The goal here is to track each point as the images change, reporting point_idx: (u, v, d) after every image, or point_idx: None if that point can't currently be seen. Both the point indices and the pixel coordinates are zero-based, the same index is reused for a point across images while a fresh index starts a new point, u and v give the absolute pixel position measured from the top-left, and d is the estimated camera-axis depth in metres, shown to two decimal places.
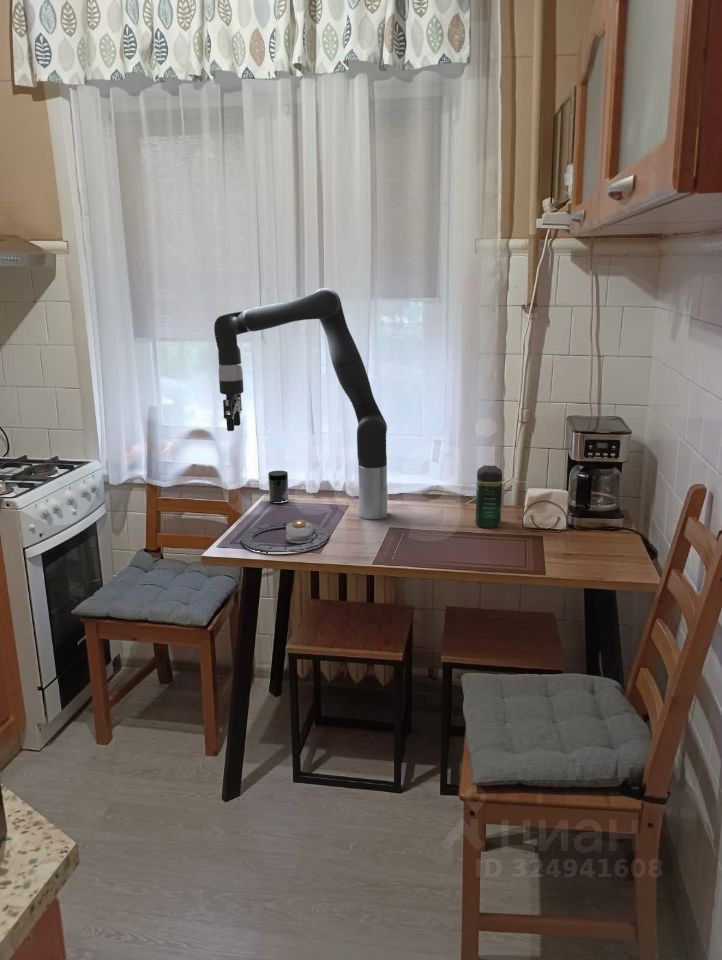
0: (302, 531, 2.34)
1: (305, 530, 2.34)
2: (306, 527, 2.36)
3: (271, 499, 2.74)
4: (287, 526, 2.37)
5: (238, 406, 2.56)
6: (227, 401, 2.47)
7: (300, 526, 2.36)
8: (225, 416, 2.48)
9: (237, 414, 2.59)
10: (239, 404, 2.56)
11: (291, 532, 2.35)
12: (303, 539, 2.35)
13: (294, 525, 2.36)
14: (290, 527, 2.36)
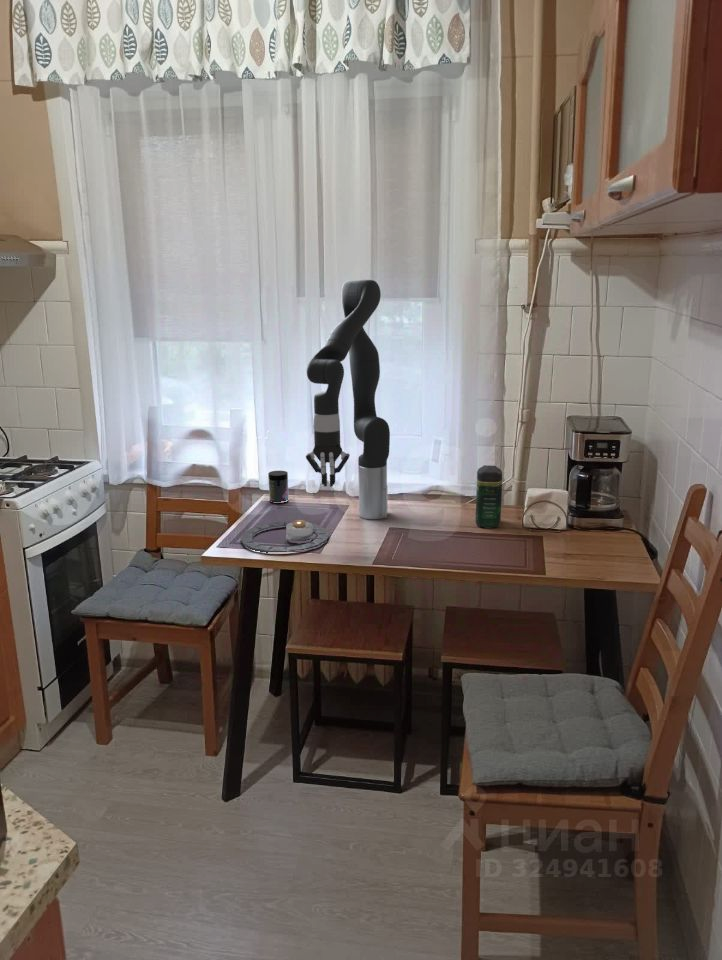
0: (302, 531, 2.34)
1: (305, 530, 2.34)
2: (306, 527, 2.36)
3: (271, 499, 2.74)
4: (287, 526, 2.37)
5: None
6: None
7: (300, 526, 2.36)
8: None
9: (326, 473, 2.33)
10: None
11: (291, 532, 2.35)
12: (303, 539, 2.35)
13: (294, 525, 2.36)
14: (290, 527, 2.36)
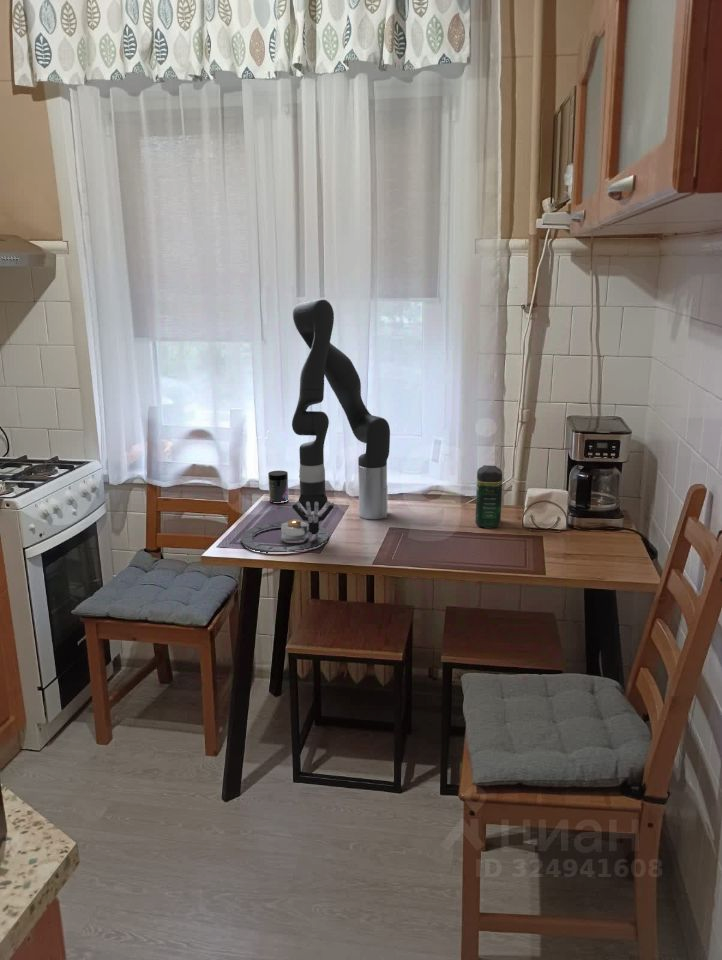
0: (297, 530, 2.34)
1: (300, 530, 2.35)
2: (301, 526, 2.36)
3: (271, 499, 2.74)
4: (282, 525, 2.37)
5: None
6: (333, 506, 2.35)
7: (295, 525, 2.36)
8: None
9: (313, 521, 2.37)
10: None
11: (286, 531, 2.35)
12: (298, 538, 2.35)
13: (289, 524, 2.36)
14: (285, 527, 2.36)
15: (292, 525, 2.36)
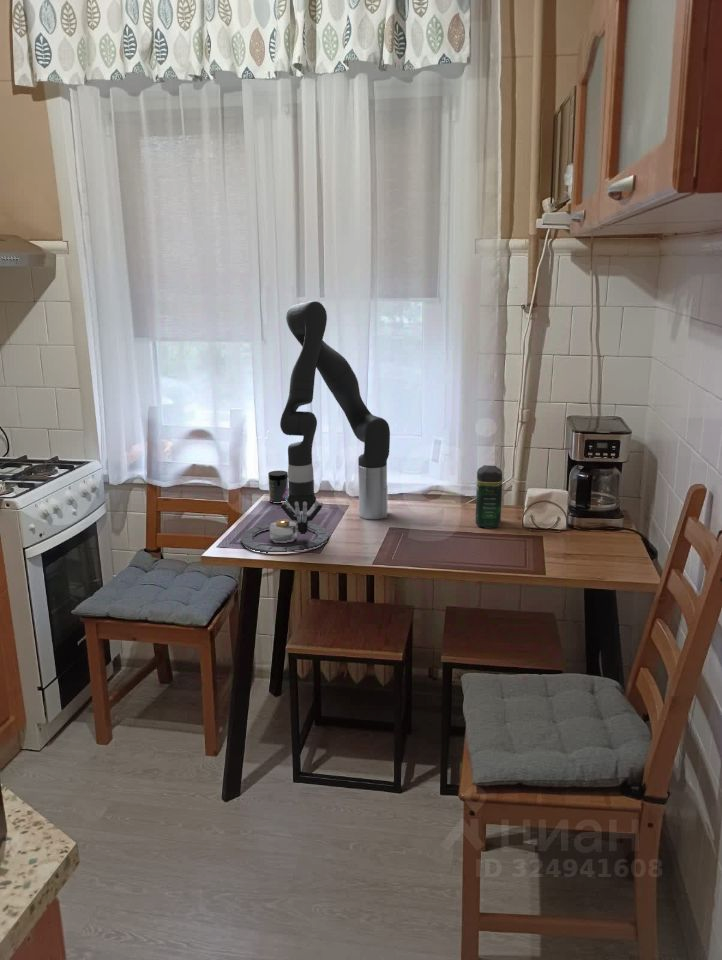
0: (285, 530, 2.35)
1: (289, 529, 2.35)
2: (290, 526, 2.37)
3: (271, 499, 2.74)
4: (271, 525, 2.38)
5: None
6: None
7: (284, 525, 2.36)
8: (312, 517, 2.36)
9: (302, 521, 2.38)
10: None
11: (274, 531, 2.35)
12: (287, 538, 2.35)
13: (277, 524, 2.37)
14: (274, 527, 2.36)
15: (281, 525, 2.36)
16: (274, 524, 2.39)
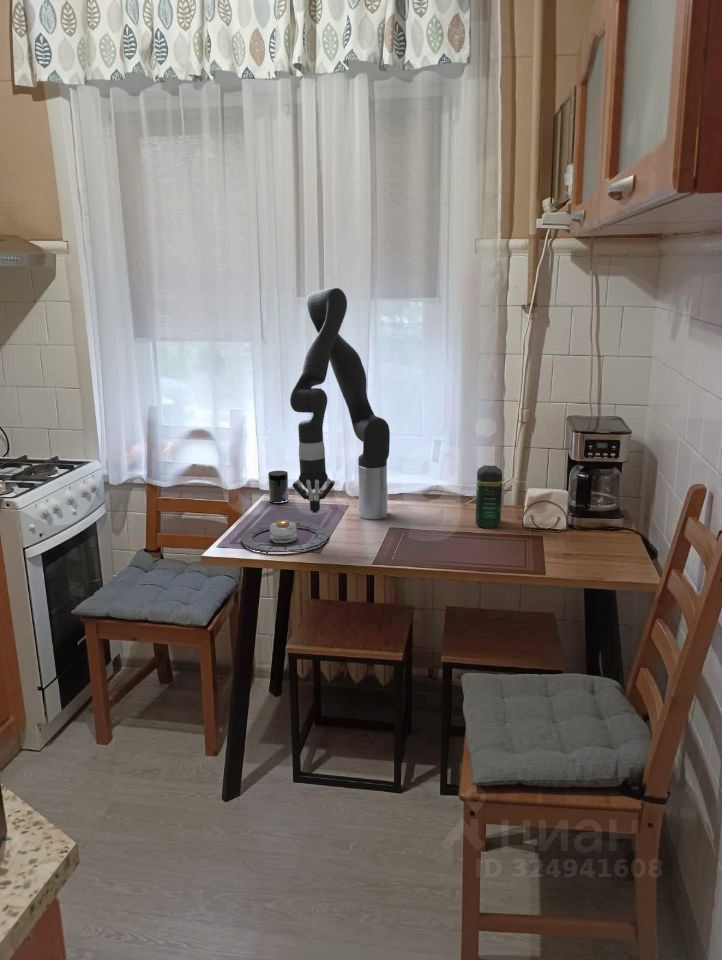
0: (285, 530, 2.35)
1: (289, 530, 2.35)
2: (290, 527, 2.37)
3: (271, 499, 2.74)
4: (271, 526, 2.38)
5: None
6: None
7: (284, 526, 2.36)
8: None
9: (314, 499, 2.35)
10: None
11: (274, 531, 2.35)
12: (287, 539, 2.35)
13: (277, 524, 2.37)
14: (274, 527, 2.36)
15: (281, 525, 2.36)
16: (274, 524, 2.39)
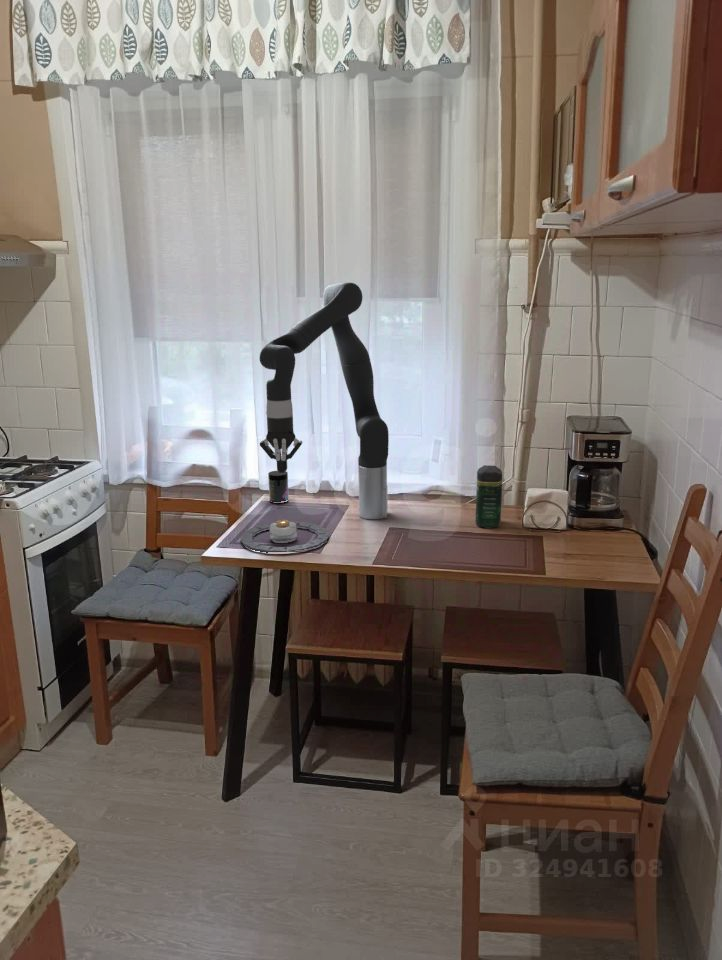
0: (285, 530, 2.35)
1: (289, 530, 2.35)
2: (290, 527, 2.37)
3: (271, 499, 2.74)
4: (271, 526, 2.38)
5: None
6: (301, 444, 2.31)
7: (284, 526, 2.36)
8: None
9: (281, 459, 2.33)
10: None
11: (274, 531, 2.35)
12: (287, 539, 2.35)
13: (277, 524, 2.37)
14: (274, 527, 2.36)
15: (281, 525, 2.36)
16: (274, 524, 2.39)
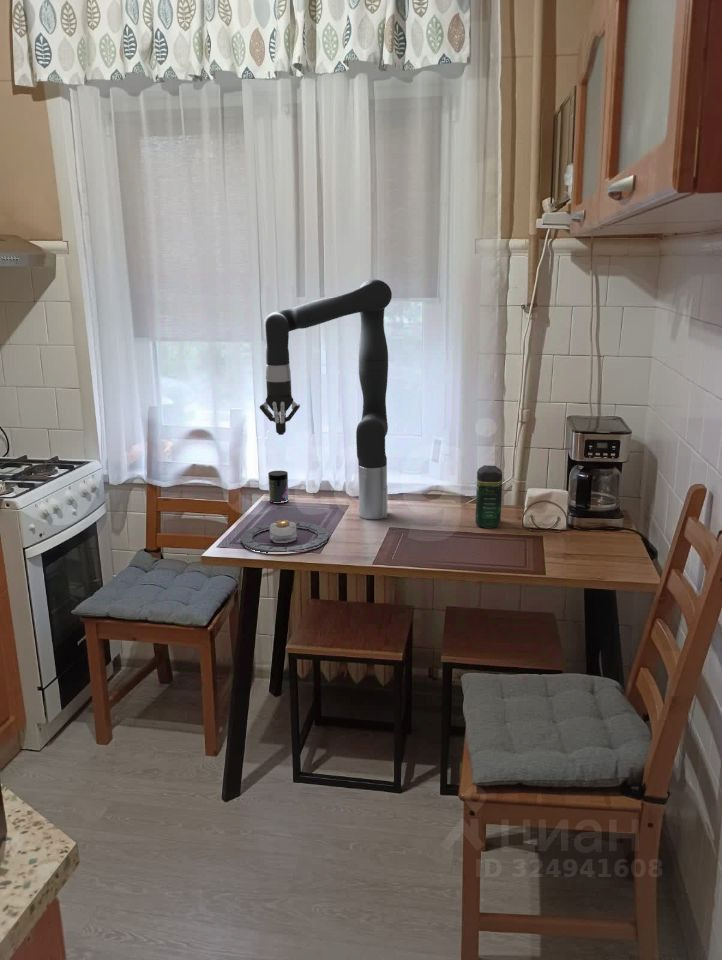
0: (285, 530, 2.35)
1: (289, 530, 2.35)
2: (290, 527, 2.37)
3: (271, 499, 2.74)
4: (271, 526, 2.38)
5: None
6: None
7: (284, 526, 2.36)
8: None
9: (280, 422, 2.46)
10: None
11: (274, 531, 2.35)
12: (287, 539, 2.35)
13: (277, 524, 2.37)
14: (274, 527, 2.36)
15: (281, 525, 2.36)
16: (274, 524, 2.39)
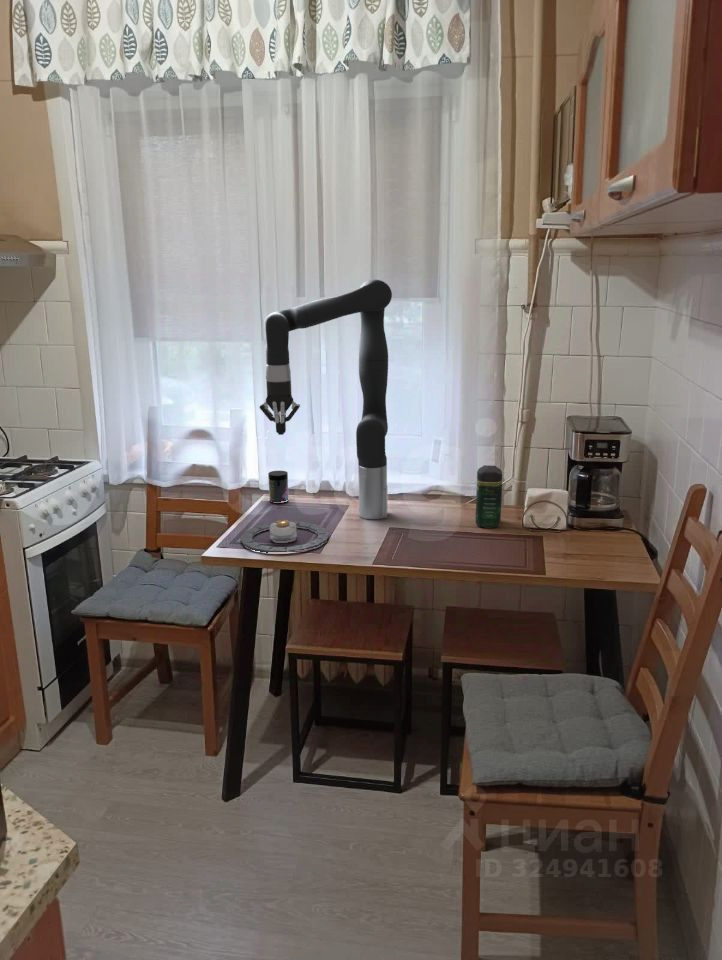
0: (285, 530, 2.35)
1: (289, 530, 2.35)
2: (290, 527, 2.37)
3: (271, 499, 2.74)
4: (271, 526, 2.38)
5: None
6: None
7: (284, 526, 2.36)
8: None
9: (280, 422, 2.46)
10: None
11: (274, 531, 2.35)
12: (287, 539, 2.35)
13: (277, 524, 2.37)
14: (274, 527, 2.36)
15: (281, 525, 2.36)
16: (274, 524, 2.39)
